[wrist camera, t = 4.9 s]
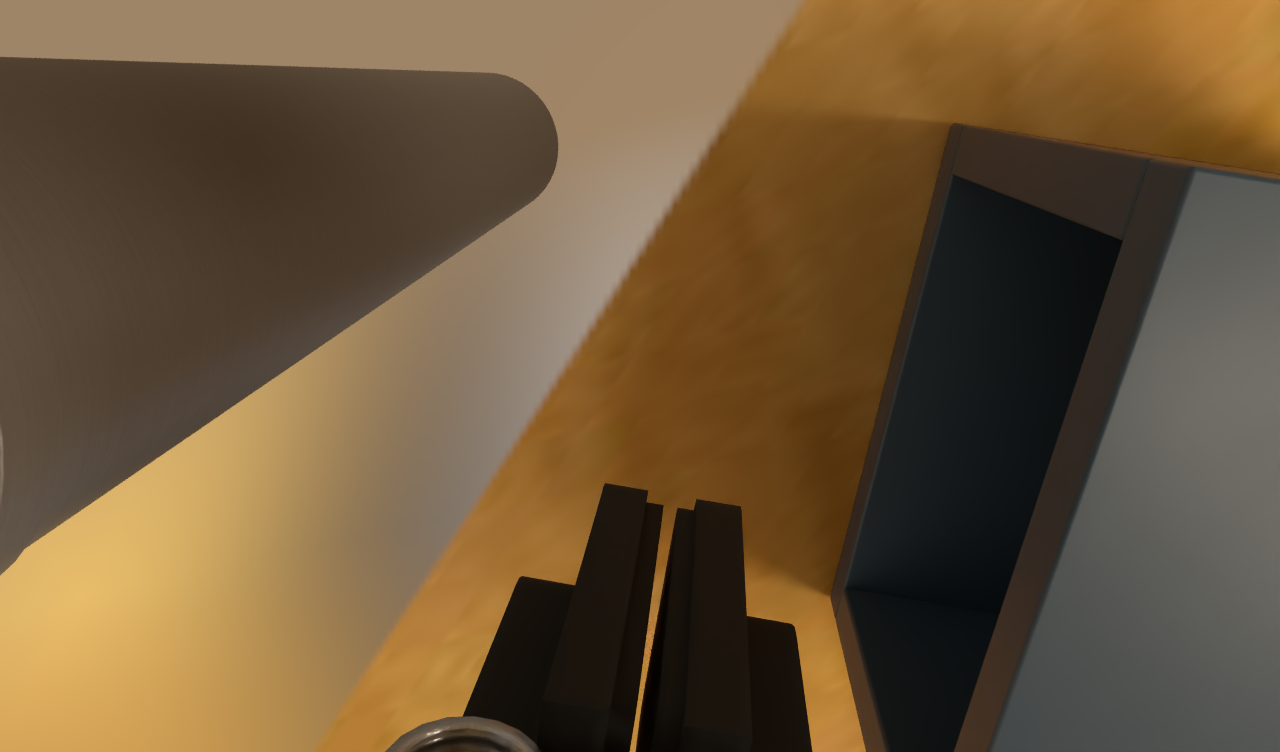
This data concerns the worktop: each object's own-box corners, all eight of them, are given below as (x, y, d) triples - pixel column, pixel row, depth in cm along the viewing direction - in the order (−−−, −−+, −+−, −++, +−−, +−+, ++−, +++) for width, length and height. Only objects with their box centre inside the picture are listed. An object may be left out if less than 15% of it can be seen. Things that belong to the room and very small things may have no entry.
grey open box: (829, 598, 23) (913, 966, 13) (950, 121, 19) (1192, 165, 9) (1137, 651, 23) (1445, 1062, 13) (1325, 181, 19) (1957, 285, 9)
